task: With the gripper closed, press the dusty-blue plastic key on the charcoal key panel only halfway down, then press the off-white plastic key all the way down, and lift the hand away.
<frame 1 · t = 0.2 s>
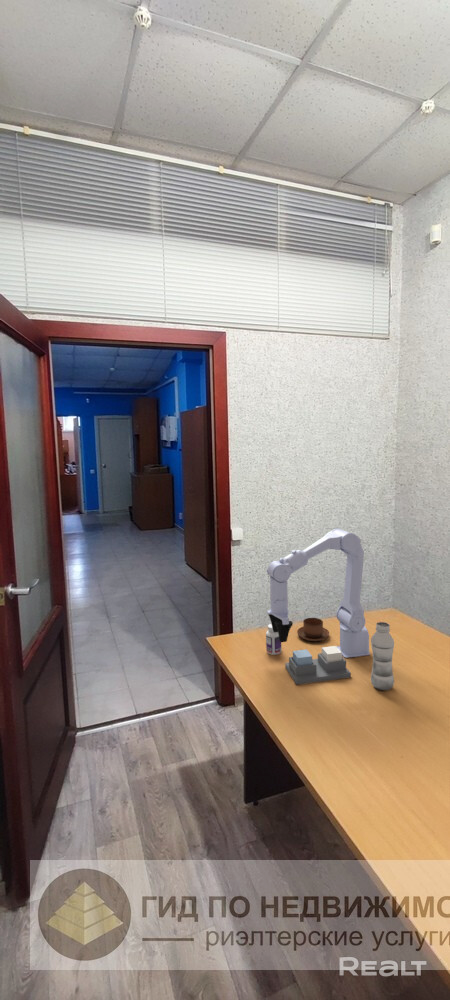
hand: (279, 636, 149), 10 cm above the table, tool pointing down, fingers open, 7 cm apart
key panel: (317, 672, 144), on the table
blue key: (302, 658, 143), point 6 cm above the table, slide at 0.0 cm
pill bottle: (273, 652, 159), on the table
white key: (331, 654, 145), point 6 cm above the table, slide at 0.0 cm
plastic bottle: (382, 687, 134), on the table
cup and saucer: (313, 637, 170), on the table
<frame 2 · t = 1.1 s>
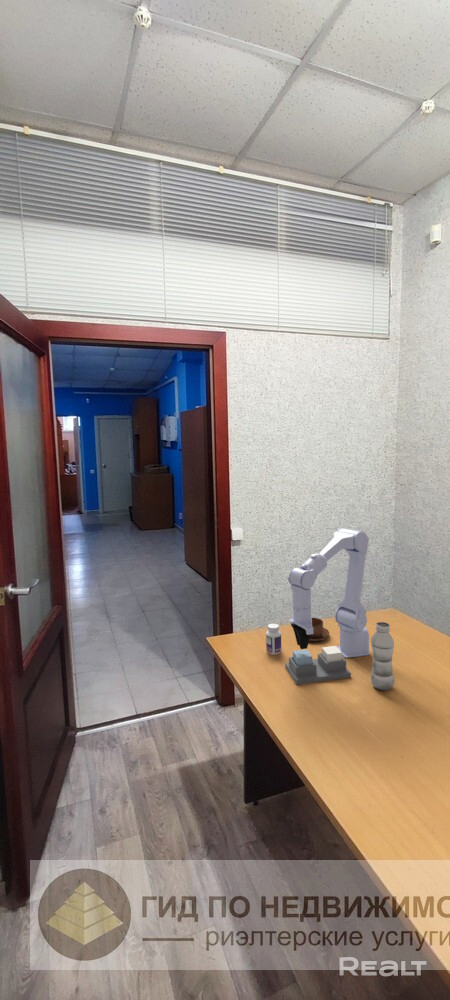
hand: (302, 646, 142), 9 cm above the table, tool pointing down, fingers closed
nothing on the table moved.
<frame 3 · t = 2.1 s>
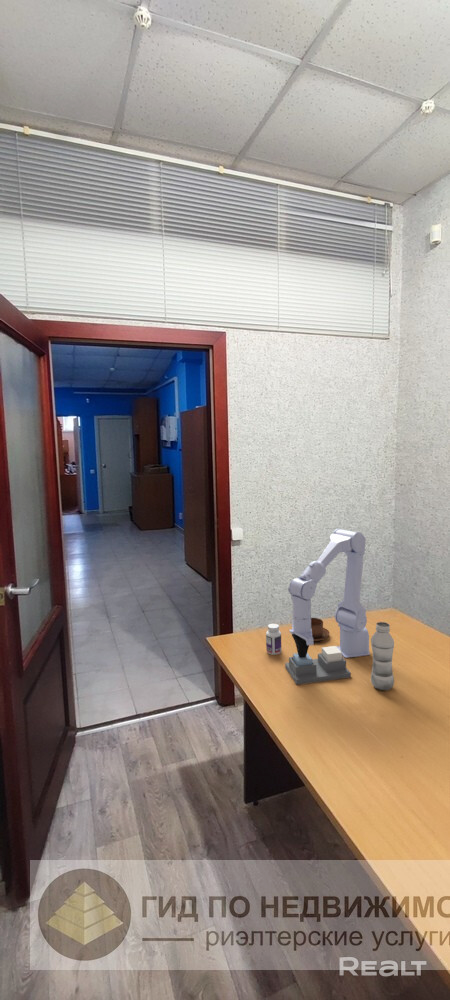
hand: (302, 656, 143), 6 cm above the table, tool pointing down, fingers closed, pressing on blue key
blue key: (302, 660, 143), point 5 cm above the table, slide at 0.9 cm, touching gripper
everything else where it was.
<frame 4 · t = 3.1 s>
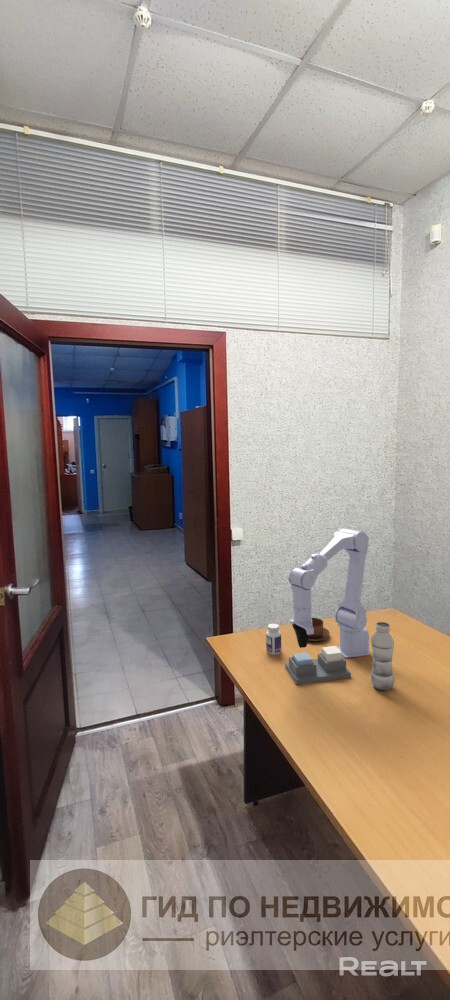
hand: (302, 646, 142), 9 cm above the table, tool pointing down, fingers closed
blue key: (302, 661, 143), point 4 cm above the table, slide at 1.0 cm
everything else where it was.
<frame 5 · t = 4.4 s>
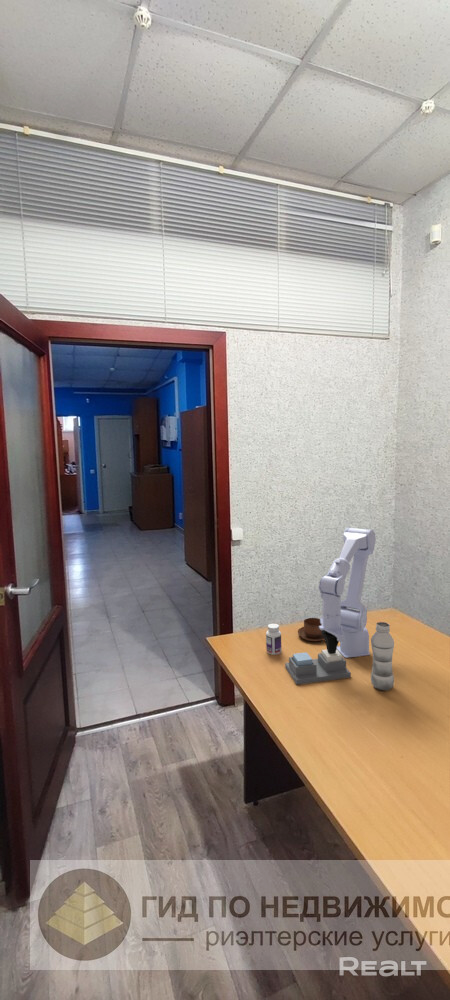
hand: (331, 652, 144), 6 cm above the table, tool pointing down, fingers closed, pressing on white key
white key: (331, 656, 145), point 5 cm above the table, slide at 0.9 cm, touching gripper
everything else where it was.
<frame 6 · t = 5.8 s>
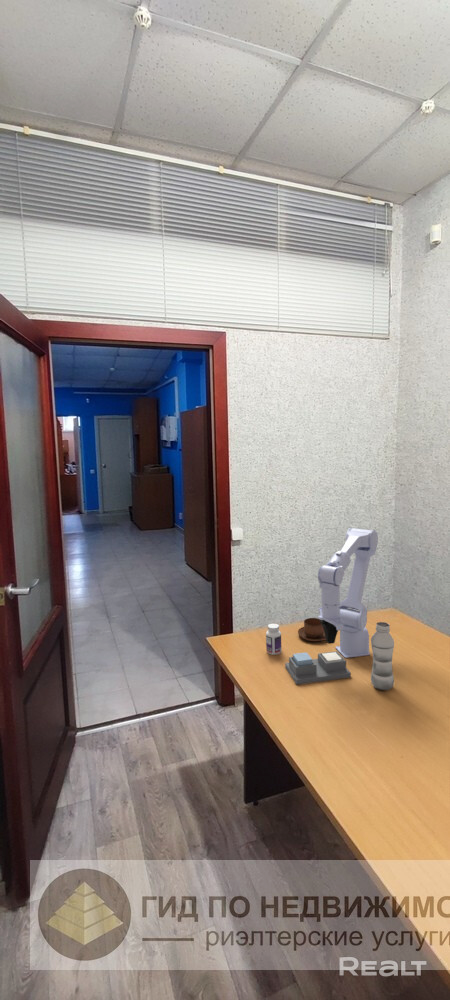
hand: (330, 642, 144), 9 cm above the table, tool pointing down, fingers closed
white key: (331, 660, 145), point 3 cm above the table, slide at 2.2 cm
everything else where it was.
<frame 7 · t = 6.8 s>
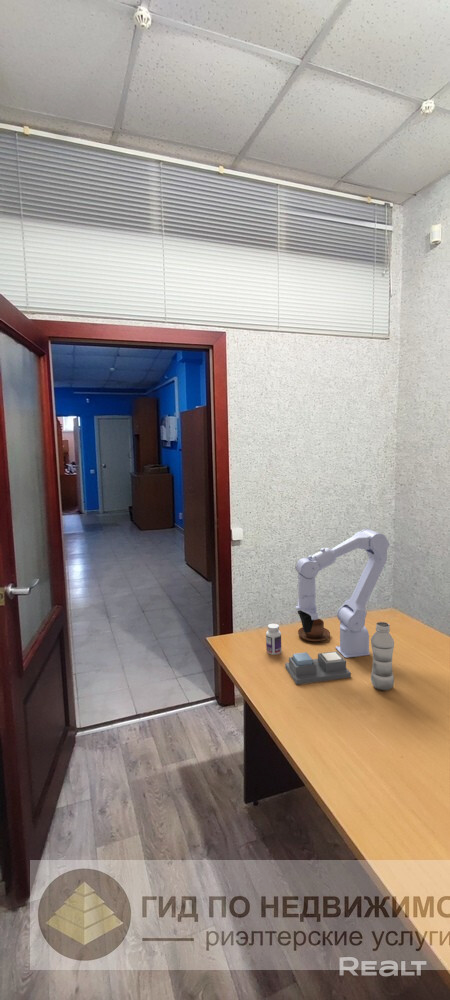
hand: (307, 631, 153), 9 cm above the table, tool pointing down, fingers closed
nothing on the table moved.
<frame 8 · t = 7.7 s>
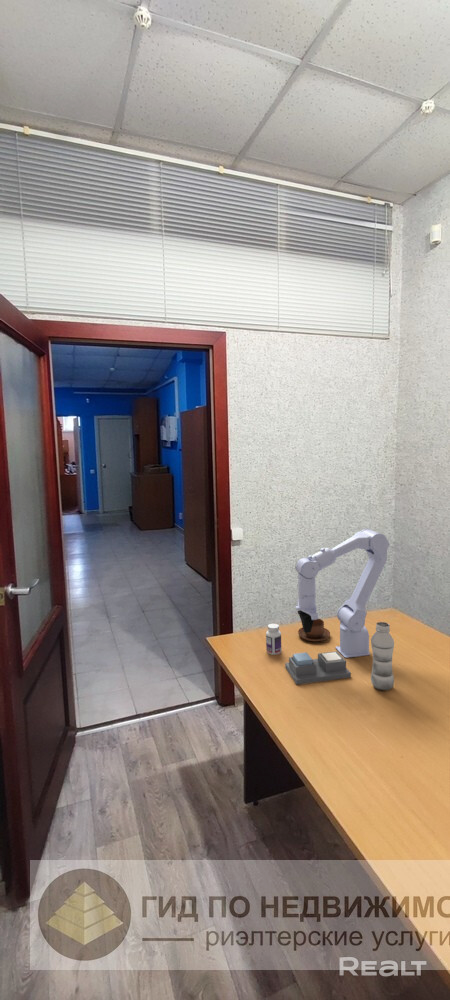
hand: (307, 631, 153), 9 cm above the table, tool pointing down, fingers closed
nothing on the table moved.
at the end: blue key slide at 1.0 cm; white key slide at 2.2 cm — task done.
